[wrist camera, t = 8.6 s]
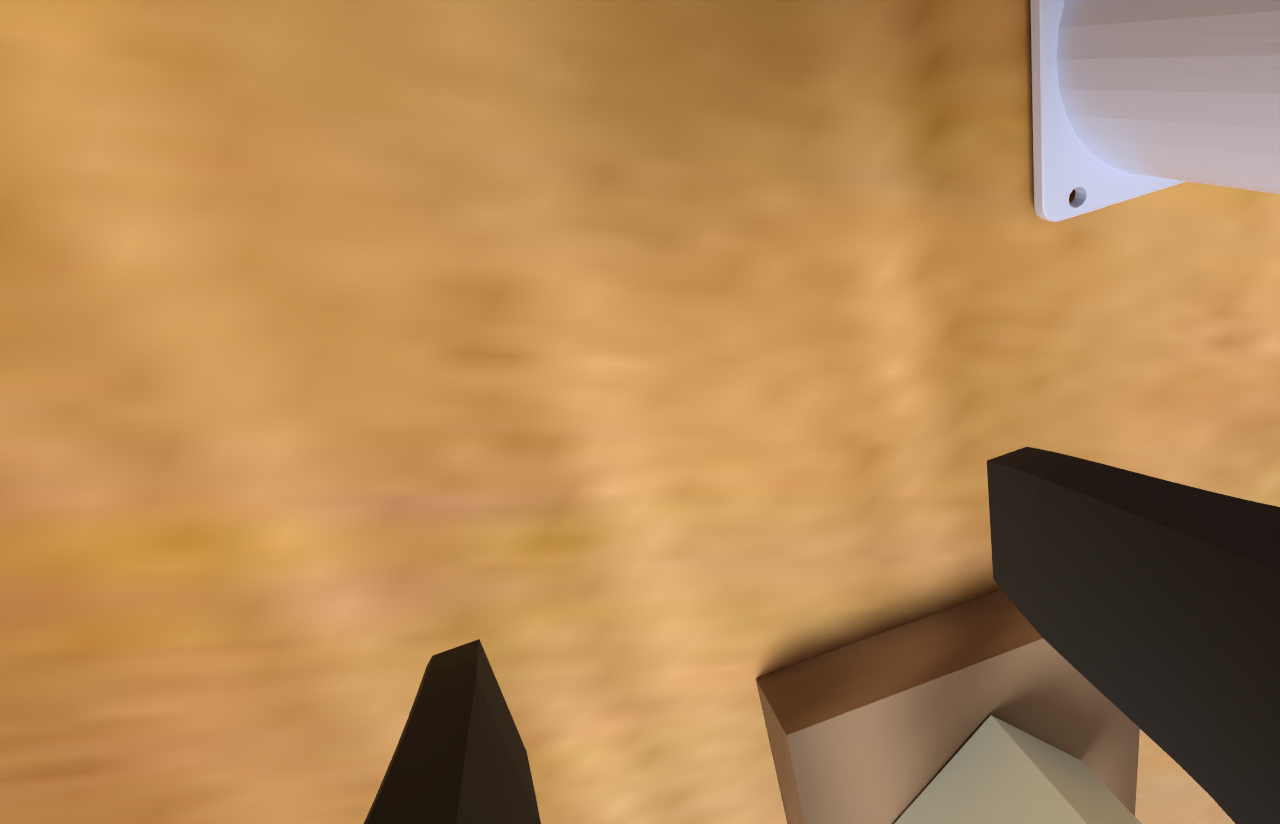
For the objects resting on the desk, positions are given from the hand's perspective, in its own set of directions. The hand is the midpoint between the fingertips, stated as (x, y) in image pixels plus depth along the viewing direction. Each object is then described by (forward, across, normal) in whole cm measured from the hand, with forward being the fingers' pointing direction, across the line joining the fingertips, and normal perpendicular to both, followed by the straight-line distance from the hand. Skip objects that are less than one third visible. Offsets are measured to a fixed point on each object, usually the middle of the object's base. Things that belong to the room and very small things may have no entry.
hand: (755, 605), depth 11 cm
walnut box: (+11, -8, +18) cm, 22 cm away
